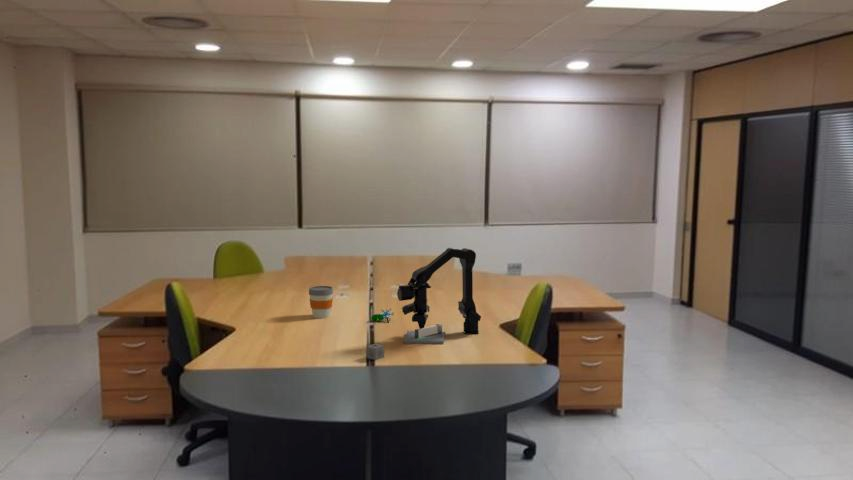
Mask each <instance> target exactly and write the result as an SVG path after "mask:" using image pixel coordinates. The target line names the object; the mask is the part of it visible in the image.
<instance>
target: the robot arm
mask: <svg viewBox="0 0 853 480" xmlns="http://www.w3.org/2000/svg"><path fill="white" fill-rule="evenodd" d="M453 258H457V259H458V260H459V263H460V266H461V268H462V270H461V271H462V273H461V274H462V298H461V300H459V301H458V303H457V305H458V308H457V310H458V311H459V313H460V315H462V317H463V319H464V321H463V332H464V334H465V335H467V334H470V335H479V331H480V330H479V322H480V321H481V320H482V319H481V318H482V316H481V315H480V314H479V313H478V312H477V307H476V303H475V301H474V297H473V296H474V295H473V290H474V289H473V281H474V278H473V268H474V266H475V263H476V258H477V254H476V252H475V251H474V250H473V249H470V248H465V247H463V248H461V249H458V248H452V247H447V248H446V249H445V250H444V251H443V252H441V254H439V255H438V256H437V257H436V258H434V259H433V260H431V262H429V263H428V264H427V265H425V266H422V267H419V268H417V269H416V270H414V271H413V272H412V275H411V278H410V279H409V281H408V283H407V285H406V284H404V285H402V284H399V285H398V288H397V292H396V295H397V299H398V301H400V302H403V301H411V300H413V299H414V300H413V301H412V302H411V303H408V304H405V305H403V306H402V307H401V310H402V313H403V316H405V315H408V314H410V313H413V314H412V317H411V322H415V323H417V325H418V329H420V328H425V327H426V326H425V325H426V323H427V321H428V316H429V314H427V313H430V309H431V308H430V307H431V306H430V305H428V294H427V293H428V289H431V288H432V286H431V285H430V284H429V283H428V281H429V280H430V279H431V278H432V276H433V274H434V273H435V272H437V270H439V269H440V268H441V267H442V266H444V265H445V264H446V263H448V262H449V261H450V260H452V259H453Z"/></svg>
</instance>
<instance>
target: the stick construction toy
mask: <svg viewBox="0 0 853 480" xmlns="http://www.w3.org/2000/svg"><path fill="white" fill-rule="evenodd" d="M390 311H392V308H389V309H387V308H386V311H385V310H383V309H381V312H382V314H381V313H379V314H378V313H377V314H373V315H371V318H370V320H372V321H374V322H375V321H377V323H379V322H380V321H384V320H385V321H386V322H387V324H389V323H390V320H391V319H392V318H391V317H390V316H394V314H395V312H394V311H393V312H392V313H389V312H390Z"/></svg>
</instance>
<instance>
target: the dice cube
mask: <svg viewBox="0 0 853 480" xmlns="http://www.w3.org/2000/svg"><path fill="white" fill-rule="evenodd" d="M366 358H367V359H370V360H374V361H377V360H380V359H383V358H385V345H383V344H379V343H372V344H370V345H366Z"/></svg>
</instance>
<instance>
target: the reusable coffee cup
mask: <svg viewBox="0 0 853 480" xmlns="http://www.w3.org/2000/svg"><path fill="white" fill-rule="evenodd" d="M308 294H309V300H308V301H309V306H310V308H311V311H312V317H313V318H314V319H327V318H329V317H331V312H332V307H333V302H334V300H333V294H334V288H333V287H332V286H329V285H317V286H311V287H309V288H308Z"/></svg>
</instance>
